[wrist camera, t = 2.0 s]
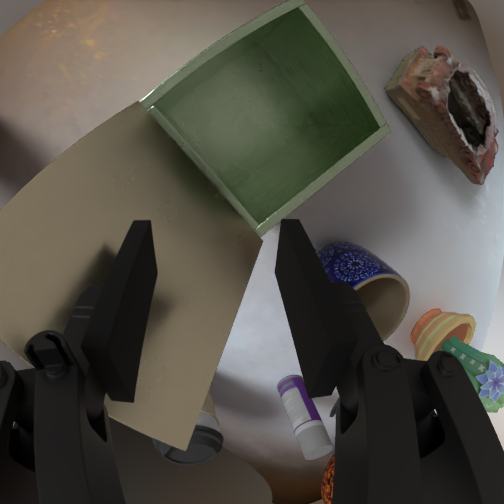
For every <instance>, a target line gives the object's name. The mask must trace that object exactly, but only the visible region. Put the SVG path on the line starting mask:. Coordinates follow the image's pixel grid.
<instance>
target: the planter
mask: <svg viewBox="0 0 504 504" xmlns="http://www.w3.org/2000/svg"><path fill="white" fill-rule="evenodd" d="M317 255H318V257H319V259H320V261H321V263H322V265H323V267H324V269H325V271H326V273H327V276H328V278H329V280H330V282H347V283H348V284H349V285H350V286H351V287H352V288H354V289H355V290H356V292H357V294H358V295H359V297H360V299H361V301H362V303H363V305H364V306H365V308H366V312H368V314H369V316H370V318H371V320H372V321H373V323H374V325H375V327H376V329H377V331H378V333H379V335H380V337H381V339H382V341H384V340H386V339H387V338H388V337H389V336H390V335H391V334H392V333H393V332H394V331H395V330H396V328H397V327H398V326H399V324H400V323H401V321H402V320H403V318H404V316H405V314H406V311H407V309H408V305H409V299H410V292H409V287H408V285H407V283H406V281H405V280H404V279H403V278H402V277H401V276H400V275H399V274H398V273H397V272H396V271H395V270H393V269H392V268H391V267H390V266H389V265H387V264H386V263H385V262H384V261H382V260H381V259H380V258H378V257H377V256H376V255H374V254H373V253H371V252H370V251H368V250H367V249H365V248H363V247H361V246H359V245H357V244H354V243H349V242H339V243H334V244H331V245H328V246H326V247H324V248H322V249H321V250H319V251H318V252H317Z"/></svg>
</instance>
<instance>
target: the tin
mask: <svg viewBox="0 0 504 504" xmlns="http://www.w3.org/2000/svg"><path fill="white" fill-rule="evenodd" d="M140 103H141V104H142V105H143V107H144V108H145V109H146V110H147V111H148V112H149V113H150V114H151V115H152V116H153V117H154V119H155V120H156V121H157V122H158V123H159V124H160V125H161V126H162V127H163V129H164V130H165V131H166V132H167V133H168V134H169V135H170V136H171V137H172V138H173V140H174V141H175V142H176V143H177V144H178V145H179V146H180V147H181V148H182V150H183V151H184V152H185V153H186V154H187V155H188V156H189V157H190V159H191V160H192V161H193V162H194V163H195V164H196V165H197V166H198V167H199V169H200V170H201V171H202V172H203V173H204V174H205V175H206V176H207V178H208V179H209V180H210V181H211V182H212V183H213V184H214V185H215V187H216V188H217V189H218V190H219V191H220V192H221V193H222V195H223V196H224V197H225V198H226V199H227V200H228V201H229V202H230V204H231V205H232V206H233V207H234V208H235V209H236V210H237V212H238V213H239V214H240V215H241V216H242V217H243V218H244V220H245V221H246V222H247V223H248V224H249V225H250V226H251V228H252V229H253V230H254V231H255V232H256V233H257V234H258V236H259V237H262V236H263V235H264V234H265V233H267V232H268V231H269V230H270V229H271V228H273V227H274V226H275V225H276V224H278V223H279V222H280V221H281V219H284V218H285V217H286V216H287V215H289V214H290V213H291V212H292V211H293V210H295V209H296V208H297V207H298V206H300V205H301V204H302V203H303V202H304V201H306V200H307V199H308V198H309V197H311V196H312V195H313V194H314V193H315V192H317V191H318V190H319V189H320V188H322V187H323V186H324V185H325V184H327V183H328V182H329V181H330V180H331V179H333V178H334V177H335V176H336V175H338V174H339V173H340V172H341V171H342V170H344V169H345V168H346V167H347V166H349V165H350V164H351V163H352V162H354V161H355V160H356V159H357V158H359V157H360V156H361V155H362V154H363V153H365V152H366V151H367V150H368V149H370V148H371V147H372V146H373V145H375V144H376V143H377V142H378V141H380V140H381V139H382V138H383V137H384V136H386V135H387V134H388V133H389V132H391V130H390V128H389V126H388V124H387V123H386V121H385V119H384V117H383V115H382V113H381V112H380V110H379V108H378V106H377V104H376V103H375V101H374V99H373V97H372V96H371V94H370V92H369V91H368V89H367V87H366V86H365V84H364V82H363V81H362V79H361V78H360V76H359V74H358V73H357V71H356V70H355V68H354V67H353V65H352V64H351V62H350V61H349V59H348V58H347V56H346V55H345V53H344V52H343V50H342V49H341V48H340V46H339V45H338V43H337V42H336V41H335V39H334V38H333V36H332V35H331V34H330V32H329V31H328V30H327V28H326V27H325V26H324V25H323V23H322V22H321V21H320V19H319V18H318V17H317V16H316V15H315V13H314V12H313V11H312V10H311V8H310V7H309V6H308V5H307V4H305V1H304V0H288V1H286V2H284V3H282V4H280V5H278V6H277V7H275V8H273V9H271V10H269V11H267V12H265V13H263V14H262V15H260V16H258V17H256V18H254V19H253V20H251V21H249V22H248V23H246V24H244V25H242V26H241V27H239V28H238V29H236V30H234V31H233V32H231V33H229V34H228V35H226V36H225V37H223V38H222V39H220V40H219V41H217V42H216V43H214V44H213V45H211V46H210V47H208V48H207V49H205V50H204V51H203V52H201V53H200V54H198V55H197V56H196V57H194V58H193V59H191V60H190V61H189V62H187V63H186V64H185V65H183V66H182V67H181V68H179V69H178V70H177V71H176V72H174V73H173V74H172V75H171V76H169V77H168V78H167V79H166V80H164V81H163V82H162V83H161V84H160V85H158V86H157V87H156V88H155V89H154V90H152V91H151V92H150V93H149V94H148V95H147V96H145V97H144V98H143V99H142V100H141V101H140Z"/></svg>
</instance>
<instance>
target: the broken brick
mask: <svg viewBox="0 0 504 504" xmlns="http://www.w3.org/2000/svg"><path fill="white" fill-rule="evenodd" d="M385 92H386V93H387V94H388V95H389V96H390V97H391V98H392V99H393V100H394V102H395V103H396V104H397V105H398V106H399V107H400V108H401V109H402V111H403V112H404V113H405V114H406V115H407V116H408V118H409V119H410V120H411V121H412V122H413V124H414V125H415V126H416V127H417V129H418V130H419V131H420V133H421V134H422V135H423V137H424V138H425V140H426V141H427V142H428V144H429V145H430V146H431V148H432V149H434V150H435V151H437V152H438V153H440V154H441V155H442V156H444V157H447V158H449V159H451V160H452V162H453V163H454V164H455V165H456V166H457V167H459V168H460V169H461V171H462V172H463V173H464V174H465V175H466V176H467V178H468V179H469V180H470V181H471V182H472V183H474V184H479V185H483V183H484V180H485V178H486V176H487V175H488V173H489V171H490V170H491V168H492V167H494V159H495V155H496V153H497V152H498V144H497V141H496V139H495V137H496V135H497V133H498V132H499V131H498V129H497V114H496V109H495V106H494V105H495V104H494V102H493V99H492V97H491V95H490V93H489V90H488V89H487V88H486V86H485V84H484V82H483V80H482V79H481V77H480V76H479V75H478V73H477V72H476V71H475V70H474V69H473V68H472V67H469V66H468V65H464V64H461V63H459V62H457V61H455V59H454V58H453V56H452V54H451V52H450V51H449V50H448V49H447V48H445V47H444V48H443V46H437V47H436V49H435V51H434V58H433V57H431V54H430V53H429V52H428V50H427V49H426V48H425V47H424V46H421V47H419V48H417V49H415V50H414V51H413V52H412V53H410V54H408V55H406V56H405V57H404V59H403V60H402V63H401V64H400V66H399V67H398V69H397V70H396V71H395V72H394V74H393V77H392V78H391V80H390V81H389V82H388V84H387V86H385Z"/></svg>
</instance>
